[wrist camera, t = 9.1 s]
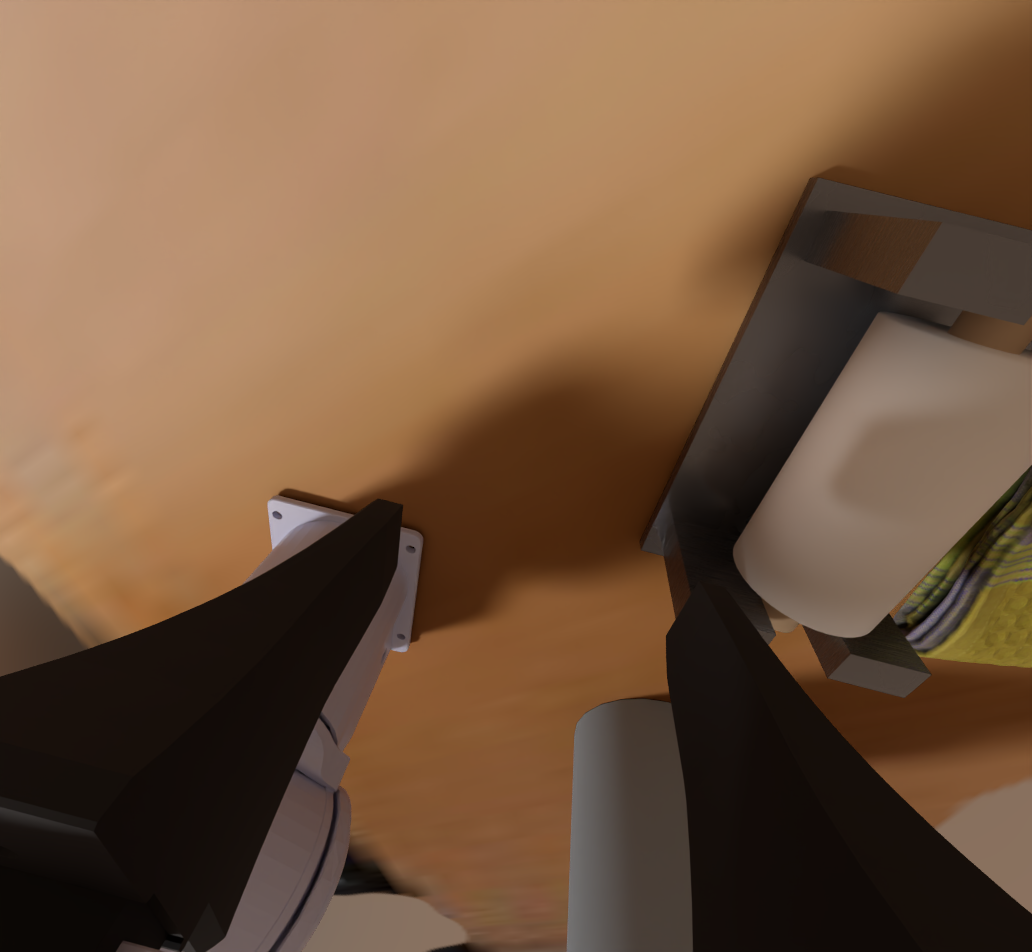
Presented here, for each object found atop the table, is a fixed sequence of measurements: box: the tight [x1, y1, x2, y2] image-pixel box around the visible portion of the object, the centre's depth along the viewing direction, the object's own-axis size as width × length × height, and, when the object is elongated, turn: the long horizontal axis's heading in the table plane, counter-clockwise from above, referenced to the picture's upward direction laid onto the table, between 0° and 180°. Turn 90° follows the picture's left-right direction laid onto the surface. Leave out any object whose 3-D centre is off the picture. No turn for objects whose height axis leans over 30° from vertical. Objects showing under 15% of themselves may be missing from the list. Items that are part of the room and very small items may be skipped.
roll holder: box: [640, 178, 1032, 698], centre depth 15 cm, size 15×10×6 cm, turn 168°
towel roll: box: [733, 310, 1032, 638], centre depth 15 cm, size 13×5×5 cm, turn 168°
